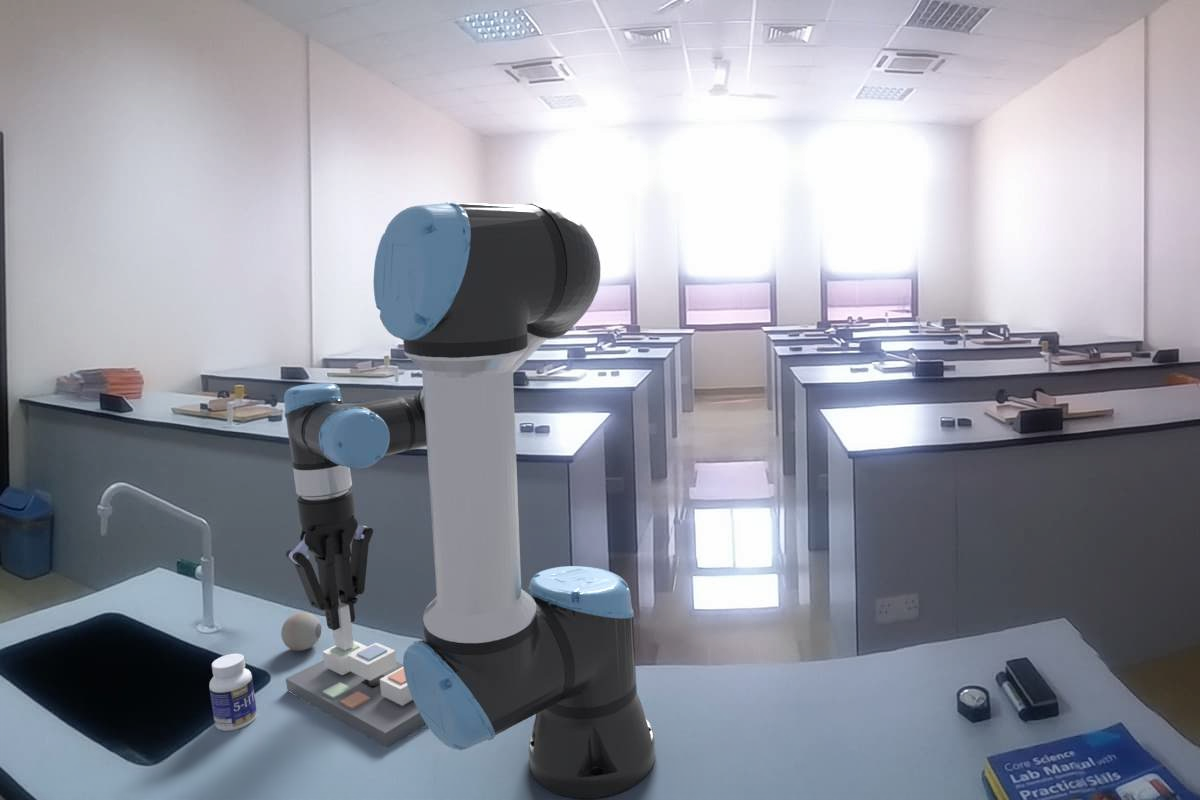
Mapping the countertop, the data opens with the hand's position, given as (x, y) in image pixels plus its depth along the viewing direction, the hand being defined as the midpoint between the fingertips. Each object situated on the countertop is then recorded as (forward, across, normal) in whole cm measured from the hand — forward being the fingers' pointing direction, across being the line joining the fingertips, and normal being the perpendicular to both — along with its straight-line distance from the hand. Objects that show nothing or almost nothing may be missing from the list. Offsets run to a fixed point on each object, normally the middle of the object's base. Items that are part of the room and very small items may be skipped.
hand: (344, 645), depth 114 cm
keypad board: (+5, +1, +7) cm, 9 cm away
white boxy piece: (+4, 0, +7) cm, 8 cm away
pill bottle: (+6, +15, -4) cm, 16 cm away
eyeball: (+6, -2, -15) cm, 16 cm away
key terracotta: (+5, 0, +14) cm, 15 cm away
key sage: (+5, 0, 0) cm, 5 cm away
